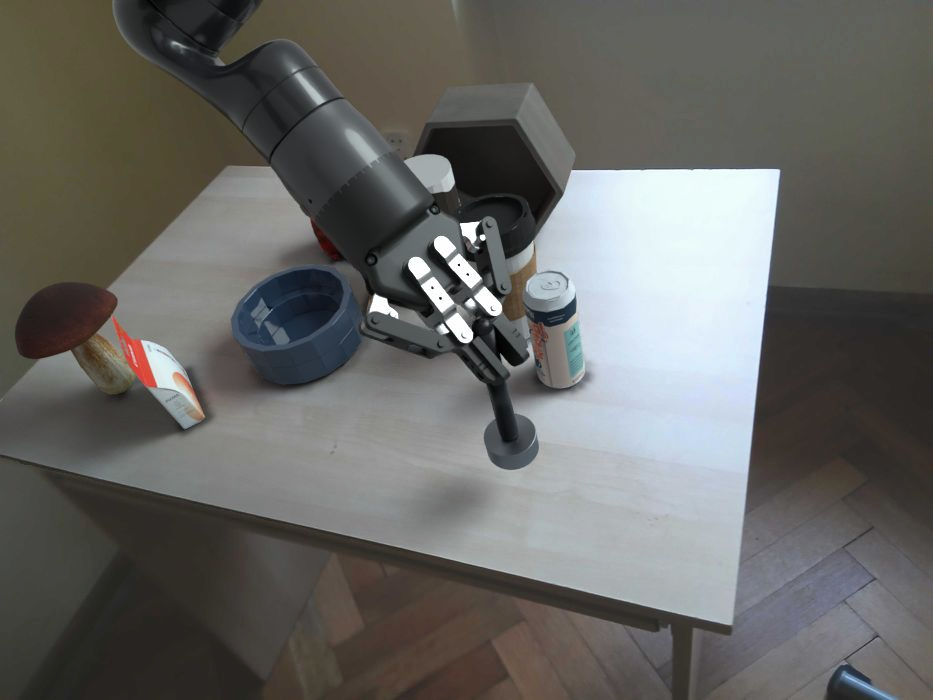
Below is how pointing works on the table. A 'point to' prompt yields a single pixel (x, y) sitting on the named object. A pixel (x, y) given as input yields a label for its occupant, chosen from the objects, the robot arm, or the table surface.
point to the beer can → (554, 328)
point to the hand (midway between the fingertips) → (512, 370)
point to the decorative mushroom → (74, 331)
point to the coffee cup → (507, 245)
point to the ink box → (162, 378)
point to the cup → (436, 180)
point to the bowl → (298, 324)
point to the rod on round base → (505, 416)
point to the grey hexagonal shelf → (500, 144)
